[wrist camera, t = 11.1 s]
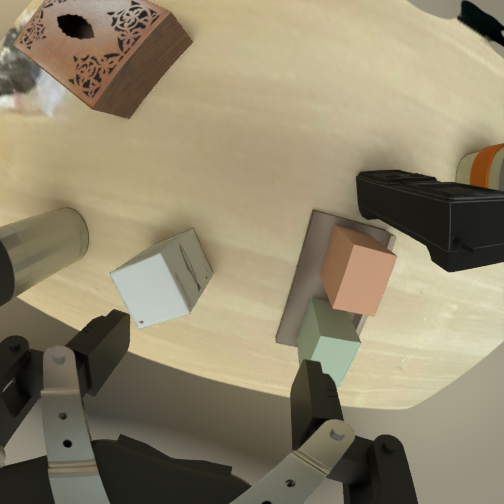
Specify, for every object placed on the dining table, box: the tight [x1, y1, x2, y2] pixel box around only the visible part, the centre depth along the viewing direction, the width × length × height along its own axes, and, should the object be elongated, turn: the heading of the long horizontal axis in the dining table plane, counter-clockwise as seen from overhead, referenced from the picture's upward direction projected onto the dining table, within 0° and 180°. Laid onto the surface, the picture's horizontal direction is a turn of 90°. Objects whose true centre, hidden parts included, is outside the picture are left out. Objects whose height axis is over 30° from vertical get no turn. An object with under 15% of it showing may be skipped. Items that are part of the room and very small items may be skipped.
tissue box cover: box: [14, 0, 193, 119], centre depth 28 cm, size 26×14×10 cm, turn 50°
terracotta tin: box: [319, 225, 397, 316], centre depth 33 cm, size 5×7×10 cm
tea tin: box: [297, 297, 361, 388], centre depth 36 cm, size 5×7×10 cm
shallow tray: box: [276, 210, 396, 347], centre depth 39 cm, size 11×20×4 cm, turn 167°
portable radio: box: [356, 170, 504, 272], centre depth 24 cm, size 8×6×25 cm
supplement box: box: [110, 229, 213, 329], centre depth 35 cm, size 7×7×13 cm
